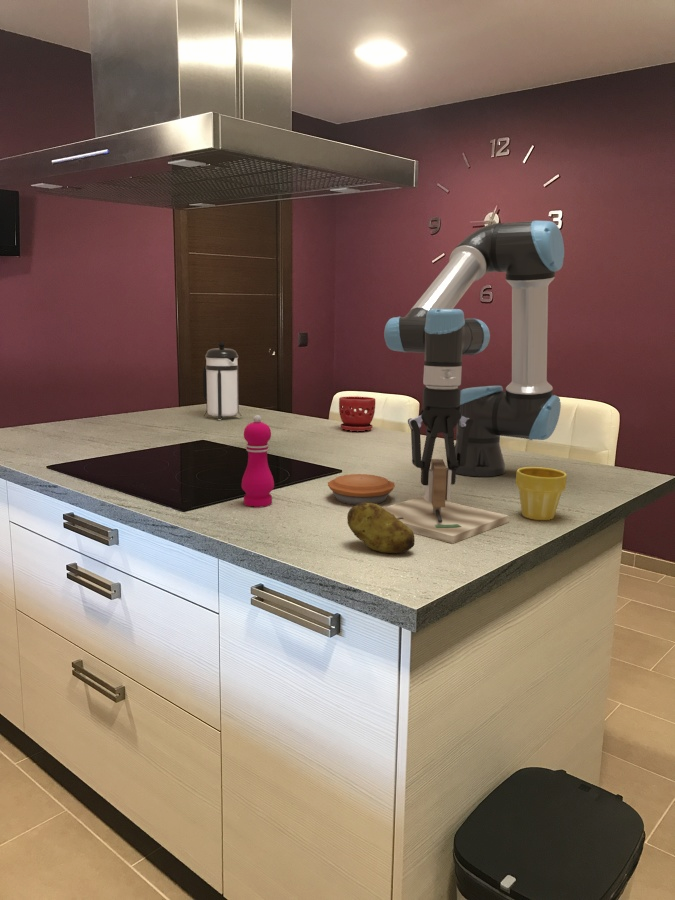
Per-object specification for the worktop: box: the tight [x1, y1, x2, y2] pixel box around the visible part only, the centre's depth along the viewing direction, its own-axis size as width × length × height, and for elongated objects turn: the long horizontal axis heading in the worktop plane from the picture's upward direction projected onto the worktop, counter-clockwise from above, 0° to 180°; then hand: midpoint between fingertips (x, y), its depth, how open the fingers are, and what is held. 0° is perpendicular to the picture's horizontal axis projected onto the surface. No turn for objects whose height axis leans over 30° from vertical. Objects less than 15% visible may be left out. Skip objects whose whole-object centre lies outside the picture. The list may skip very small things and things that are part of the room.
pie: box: [327, 473, 396, 506], centre depth 167 cm, size 15×16×5 cm
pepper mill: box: [241, 414, 275, 508], centre depth 160 cm, size 7×7×20 cm
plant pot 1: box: [338, 396, 376, 432], centre depth 262 cm, size 13×13×12 cm
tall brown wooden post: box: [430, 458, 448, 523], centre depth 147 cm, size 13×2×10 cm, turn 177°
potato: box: [347, 502, 415, 554], centre depth 132 cm, size 8×13×8 cm, turn 38°
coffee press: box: [202, 341, 243, 420], centre depth 284 cm, size 17×16×30 cm
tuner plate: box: [382, 495, 510, 545], centre depth 150 cm, size 20×22×2 cm
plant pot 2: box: [515, 466, 568, 521], centre depth 154 cm, size 10×10×10 cm
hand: (437, 499), depth 150 cm, fingers closed on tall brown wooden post, 3 cm apart
